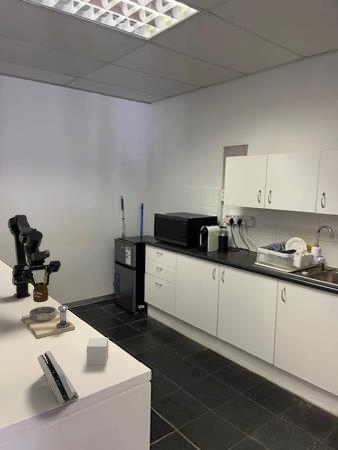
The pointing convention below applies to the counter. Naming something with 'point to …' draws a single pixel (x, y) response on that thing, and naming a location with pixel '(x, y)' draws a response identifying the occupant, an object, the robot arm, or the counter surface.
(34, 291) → the utensil holder
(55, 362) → the grey electronic device
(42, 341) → the counter surface
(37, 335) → the wooden stand with ring
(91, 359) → the grey cube
